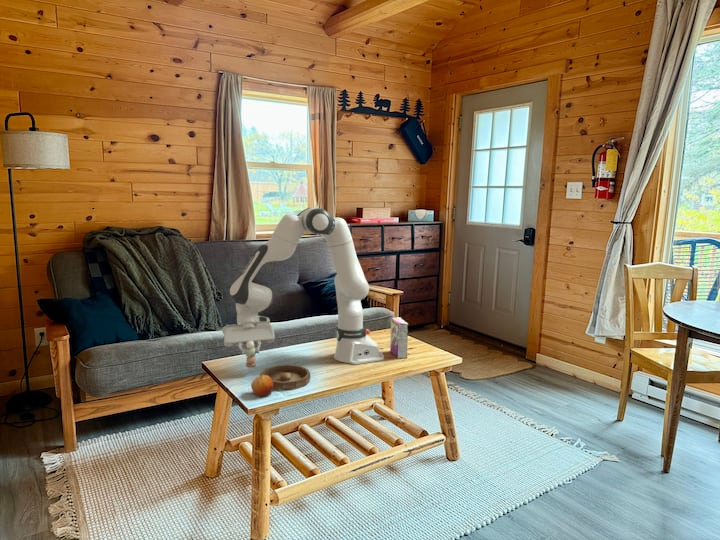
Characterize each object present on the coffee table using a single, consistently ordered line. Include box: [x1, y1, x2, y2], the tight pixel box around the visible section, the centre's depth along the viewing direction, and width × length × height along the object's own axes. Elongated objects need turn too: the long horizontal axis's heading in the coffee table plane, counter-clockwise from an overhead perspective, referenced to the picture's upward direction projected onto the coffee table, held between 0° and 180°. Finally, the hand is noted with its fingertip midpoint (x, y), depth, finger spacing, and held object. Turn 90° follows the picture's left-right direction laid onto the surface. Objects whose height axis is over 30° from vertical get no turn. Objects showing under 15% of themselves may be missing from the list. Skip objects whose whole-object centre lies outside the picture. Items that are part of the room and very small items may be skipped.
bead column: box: [245, 341, 257, 368], centre depth 199 cm, size 4×4×10 cm
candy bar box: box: [389, 317, 409, 360], centre depth 229 cm, size 11×5×16 cm, turn 14°
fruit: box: [250, 375, 274, 398], centre depth 182 cm, size 8×8×8 cm
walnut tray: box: [259, 364, 311, 391], centre depth 196 cm, size 19×19×3 cm
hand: (250, 353), depth 199 cm, fingers closed on bead column, 4 cm apart
